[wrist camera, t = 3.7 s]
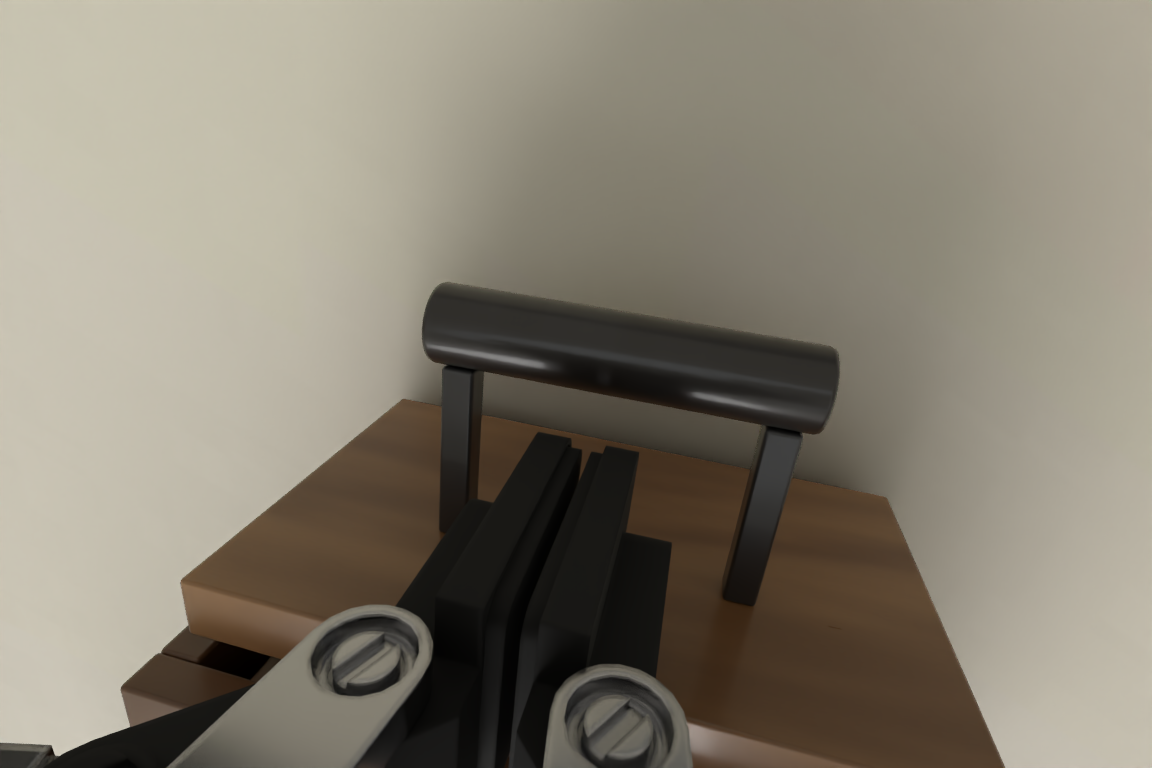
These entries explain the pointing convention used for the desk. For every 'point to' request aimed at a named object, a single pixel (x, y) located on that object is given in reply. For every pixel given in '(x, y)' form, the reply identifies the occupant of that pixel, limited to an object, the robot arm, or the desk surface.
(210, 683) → the cabinet
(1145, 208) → the desk surface
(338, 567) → the drawer
